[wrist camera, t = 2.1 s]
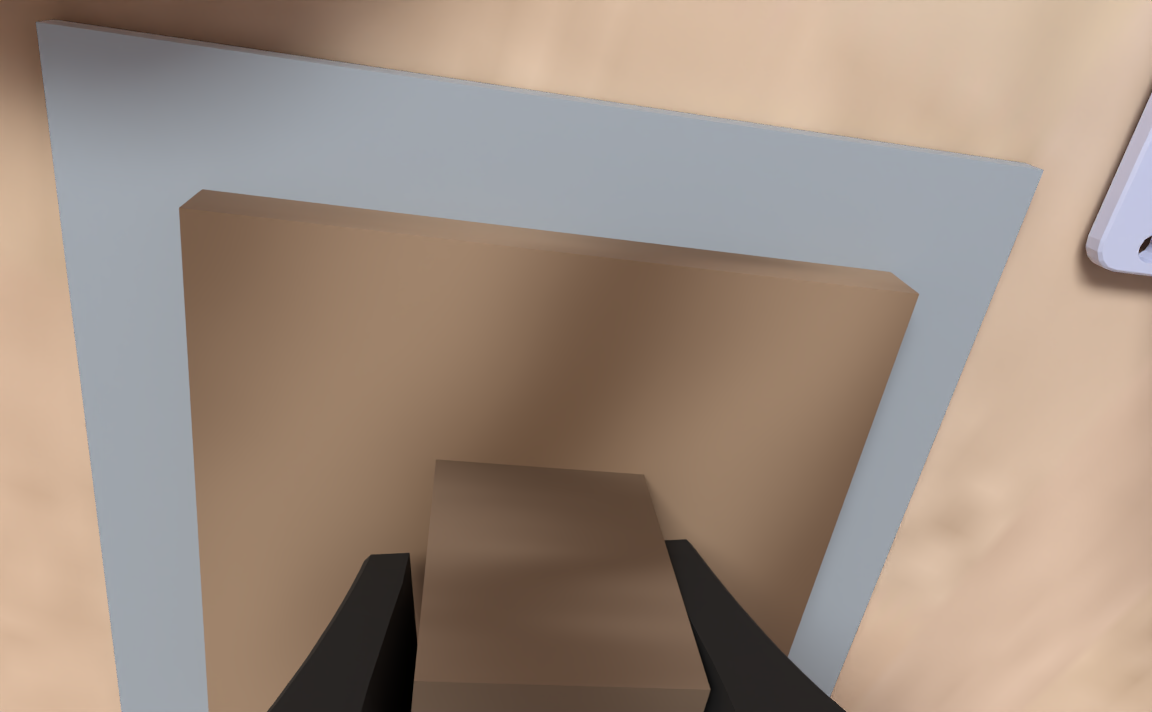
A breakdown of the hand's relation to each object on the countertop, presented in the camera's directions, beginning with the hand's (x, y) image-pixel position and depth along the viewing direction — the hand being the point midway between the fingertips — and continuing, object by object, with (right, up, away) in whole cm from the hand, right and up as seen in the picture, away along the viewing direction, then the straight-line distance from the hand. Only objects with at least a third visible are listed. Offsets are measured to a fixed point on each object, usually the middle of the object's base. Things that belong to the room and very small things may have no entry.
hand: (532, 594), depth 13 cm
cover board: (0, +1, +2) cm, 2 cm away
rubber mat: (0, +1, +2) cm, 3 cm away
